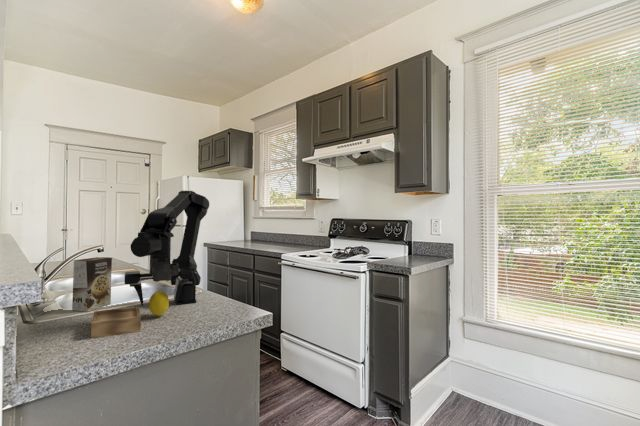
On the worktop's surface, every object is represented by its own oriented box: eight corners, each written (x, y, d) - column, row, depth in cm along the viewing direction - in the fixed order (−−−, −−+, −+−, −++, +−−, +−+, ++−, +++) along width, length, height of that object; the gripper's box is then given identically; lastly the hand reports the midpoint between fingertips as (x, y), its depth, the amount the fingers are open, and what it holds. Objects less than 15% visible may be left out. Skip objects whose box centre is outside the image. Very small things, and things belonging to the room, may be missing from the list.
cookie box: (88, 312, 105) (89, 261, 105) (71, 310, 106) (72, 259, 106) (111, 304, 114) (112, 257, 114) (95, 303, 115) (97, 256, 115)
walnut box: (138, 321, 99) (138, 306, 99) (140, 332, 90) (140, 317, 90) (93, 326, 93) (94, 311, 93) (91, 340, 84) (91, 323, 84)
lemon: (156, 313, 106) (157, 287, 106) (172, 314, 105) (173, 289, 105) (144, 318, 100) (145, 291, 100) (160, 320, 99) (161, 293, 99)
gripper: (125, 257, 91) (124, 315, 91) (197, 254, 100) (196, 306, 100) (125, 252, 100) (123, 304, 100) (190, 250, 110) (189, 297, 110)
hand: (159, 303), depth 103 cm, fingers open, 9 cm apart
